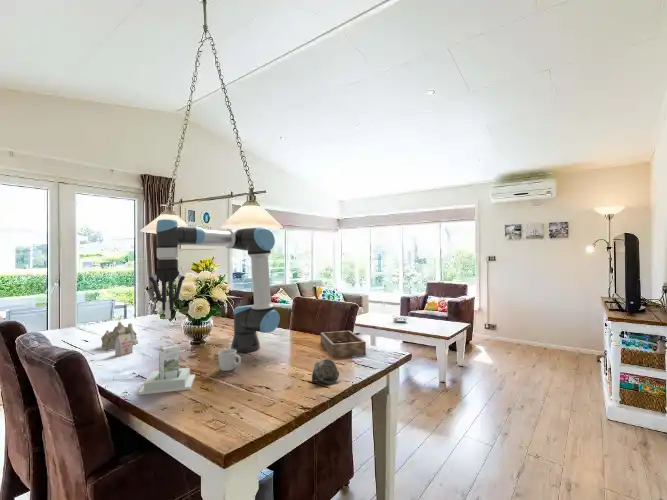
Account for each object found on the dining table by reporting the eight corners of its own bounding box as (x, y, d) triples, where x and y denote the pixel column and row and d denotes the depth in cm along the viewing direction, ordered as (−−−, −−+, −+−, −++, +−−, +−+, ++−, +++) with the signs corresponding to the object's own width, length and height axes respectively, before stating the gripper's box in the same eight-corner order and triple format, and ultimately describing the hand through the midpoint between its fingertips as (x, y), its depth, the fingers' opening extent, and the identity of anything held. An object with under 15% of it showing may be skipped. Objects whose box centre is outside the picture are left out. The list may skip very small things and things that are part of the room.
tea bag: (115, 355, 178) (115, 336, 178) (128, 352, 184) (128, 333, 184) (119, 356, 177) (119, 336, 177) (132, 353, 183) (132, 333, 183)
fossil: (328, 386, 133) (318, 361, 135) (312, 393, 137) (302, 368, 140) (344, 377, 142) (334, 353, 144) (328, 383, 146) (318, 360, 149)
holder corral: (349, 340, 202) (349, 330, 202) (365, 353, 176) (365, 341, 176) (320, 343, 197) (320, 332, 197) (332, 356, 172) (332, 344, 172)
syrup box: (174, 378, 142) (173, 343, 142) (179, 382, 137) (178, 345, 137) (159, 382, 138) (158, 345, 138) (163, 386, 133) (163, 348, 133)
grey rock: (142, 343, 200) (140, 317, 200) (112, 352, 186) (110, 324, 186) (127, 342, 208) (125, 317, 208) (97, 350, 194) (95, 323, 194)
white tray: (195, 376, 146) (195, 367, 146) (190, 389, 133) (190, 378, 133) (147, 381, 142) (147, 371, 142) (138, 394, 128) (138, 384, 128)
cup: (245, 368, 157) (245, 350, 157) (235, 373, 149) (235, 355, 149) (225, 365, 160) (225, 348, 160) (214, 371, 153) (214, 353, 153)
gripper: (186, 258, 143) (187, 315, 143) (151, 258, 140) (152, 317, 139) (183, 258, 136) (184, 319, 136) (146, 259, 132) (147, 321, 132)
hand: (168, 318), depth 138 cm, fingers closed
